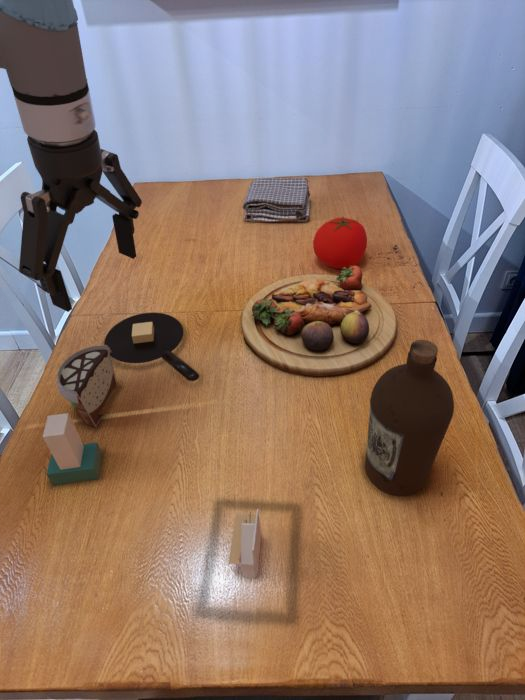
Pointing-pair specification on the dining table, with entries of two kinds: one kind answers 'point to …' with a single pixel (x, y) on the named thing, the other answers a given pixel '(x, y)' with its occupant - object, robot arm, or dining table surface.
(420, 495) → the dining table surface
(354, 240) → the tomato
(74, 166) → the robot arm
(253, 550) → the architectural model
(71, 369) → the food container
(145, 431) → the dining table surface
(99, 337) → the dining table surface
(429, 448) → the brown bottle
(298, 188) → the towel
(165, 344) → the pan
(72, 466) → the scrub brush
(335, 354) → the wooden plate
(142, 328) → the tan square block
